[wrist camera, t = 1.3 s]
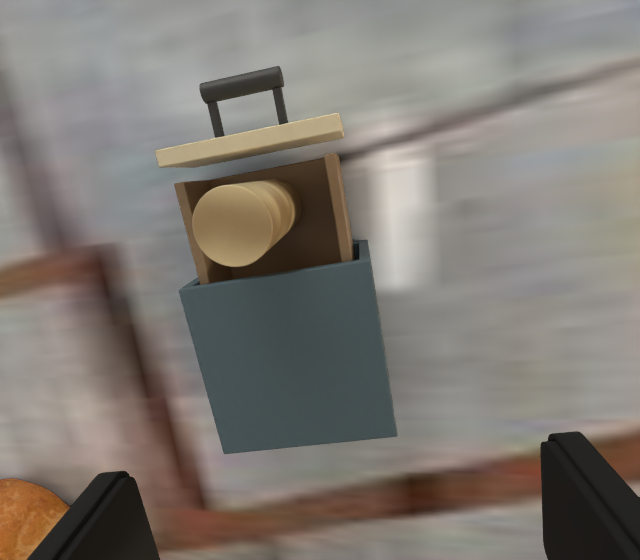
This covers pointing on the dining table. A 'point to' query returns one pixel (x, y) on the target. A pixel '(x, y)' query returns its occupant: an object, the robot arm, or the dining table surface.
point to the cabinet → (293, 356)
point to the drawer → (306, 177)
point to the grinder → (245, 220)
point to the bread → (26, 517)
